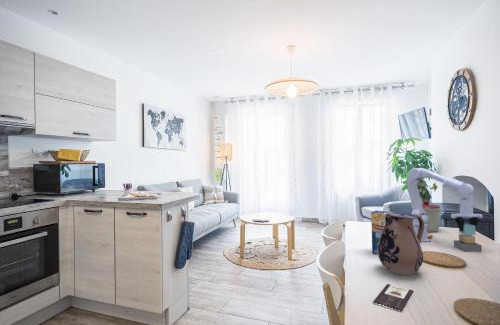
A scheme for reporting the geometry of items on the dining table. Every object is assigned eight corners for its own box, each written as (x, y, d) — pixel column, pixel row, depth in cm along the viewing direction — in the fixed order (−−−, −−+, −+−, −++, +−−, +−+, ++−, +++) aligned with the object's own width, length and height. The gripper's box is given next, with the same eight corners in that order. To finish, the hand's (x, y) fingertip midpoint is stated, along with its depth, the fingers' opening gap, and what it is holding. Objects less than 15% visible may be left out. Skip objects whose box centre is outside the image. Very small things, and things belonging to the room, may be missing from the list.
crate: (463, 251, 144) (463, 244, 144) (453, 246, 153) (453, 240, 153) (481, 251, 143) (481, 245, 143) (470, 246, 152) (470, 240, 152)
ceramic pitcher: (369, 267, 126) (368, 213, 126) (403, 260, 133) (401, 209, 133) (402, 282, 109) (401, 220, 109) (439, 274, 117) (437, 215, 117)
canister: (448, 234, 178) (447, 201, 178) (418, 233, 181) (417, 201, 181) (434, 227, 196) (434, 198, 196) (407, 227, 199) (406, 198, 199)
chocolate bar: (372, 301, 94) (387, 283, 108) (372, 304, 94) (387, 286, 108) (401, 310, 88) (413, 290, 102) (401, 313, 88) (413, 292, 102)
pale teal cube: (465, 235, 146) (464, 225, 146) (459, 232, 151) (458, 223, 151) (475, 235, 145) (475, 225, 145) (469, 232, 150) (468, 223, 150)
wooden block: (465, 249, 146) (464, 236, 146) (459, 246, 151) (458, 233, 151) (475, 249, 145) (474, 236, 145) (469, 246, 150) (468, 234, 150)
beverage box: (394, 258, 137) (393, 214, 137) (372, 253, 145) (371, 212, 145) (398, 254, 142) (397, 212, 142) (376, 250, 149) (375, 210, 149)
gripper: (456, 207, 145) (456, 232, 145) (486, 207, 143) (487, 233, 143) (448, 205, 152) (449, 229, 152) (477, 205, 150) (477, 229, 150)
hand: (466, 231), depth 148 cm, fingers closed on pale teal cube, 5 cm apart
